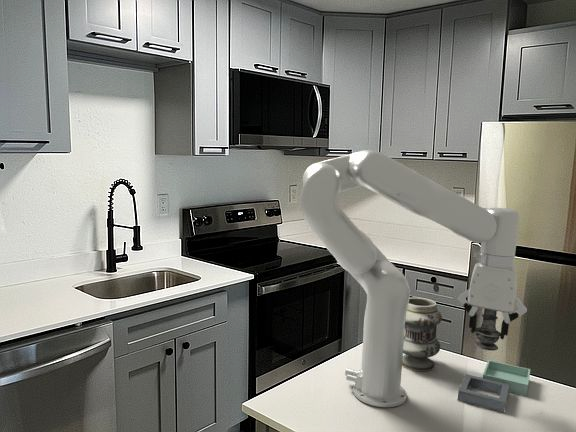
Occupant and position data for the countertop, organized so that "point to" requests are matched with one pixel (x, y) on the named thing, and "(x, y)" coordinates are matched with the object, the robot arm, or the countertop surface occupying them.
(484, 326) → the salt shaker
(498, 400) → the grey square frame
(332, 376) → the countertop surface
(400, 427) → the countertop surface
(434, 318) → the apothecary jar
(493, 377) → the tray
